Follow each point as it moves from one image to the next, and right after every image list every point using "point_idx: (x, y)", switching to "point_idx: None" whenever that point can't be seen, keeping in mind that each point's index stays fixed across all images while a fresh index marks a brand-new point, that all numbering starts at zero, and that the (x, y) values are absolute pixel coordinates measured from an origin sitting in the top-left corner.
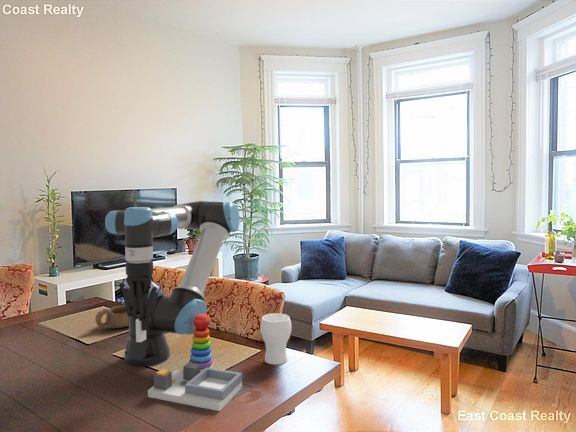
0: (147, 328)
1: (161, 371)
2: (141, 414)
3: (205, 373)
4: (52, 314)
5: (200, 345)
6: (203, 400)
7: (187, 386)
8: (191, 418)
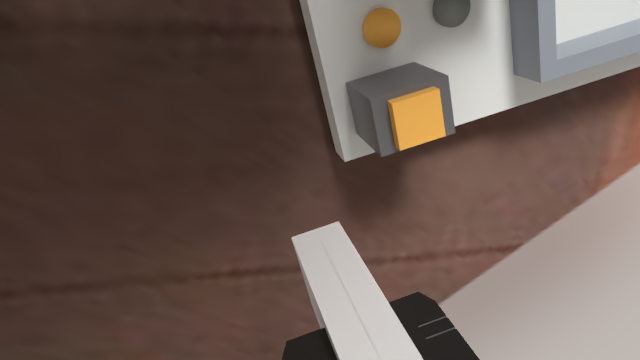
0: (426, 299)
1: (413, 124)
2: (417, 240)
3: None
4: None
5: None
6: (616, 70)
7: (550, 77)
8: (588, 145)
